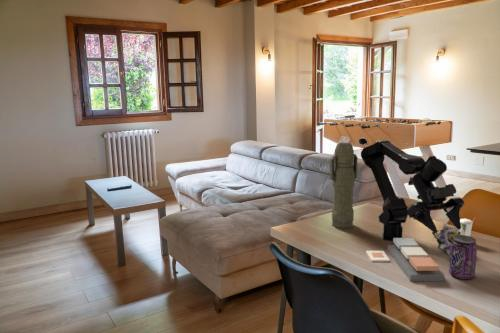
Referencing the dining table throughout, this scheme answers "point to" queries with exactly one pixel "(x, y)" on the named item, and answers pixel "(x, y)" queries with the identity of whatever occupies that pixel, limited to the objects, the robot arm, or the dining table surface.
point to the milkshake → (466, 226)
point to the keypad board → (410, 270)
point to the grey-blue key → (404, 242)
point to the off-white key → (413, 252)
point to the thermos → (343, 185)
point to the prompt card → (378, 256)
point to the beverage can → (463, 257)
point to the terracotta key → (423, 264)
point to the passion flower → (446, 237)
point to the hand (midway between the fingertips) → (448, 230)
